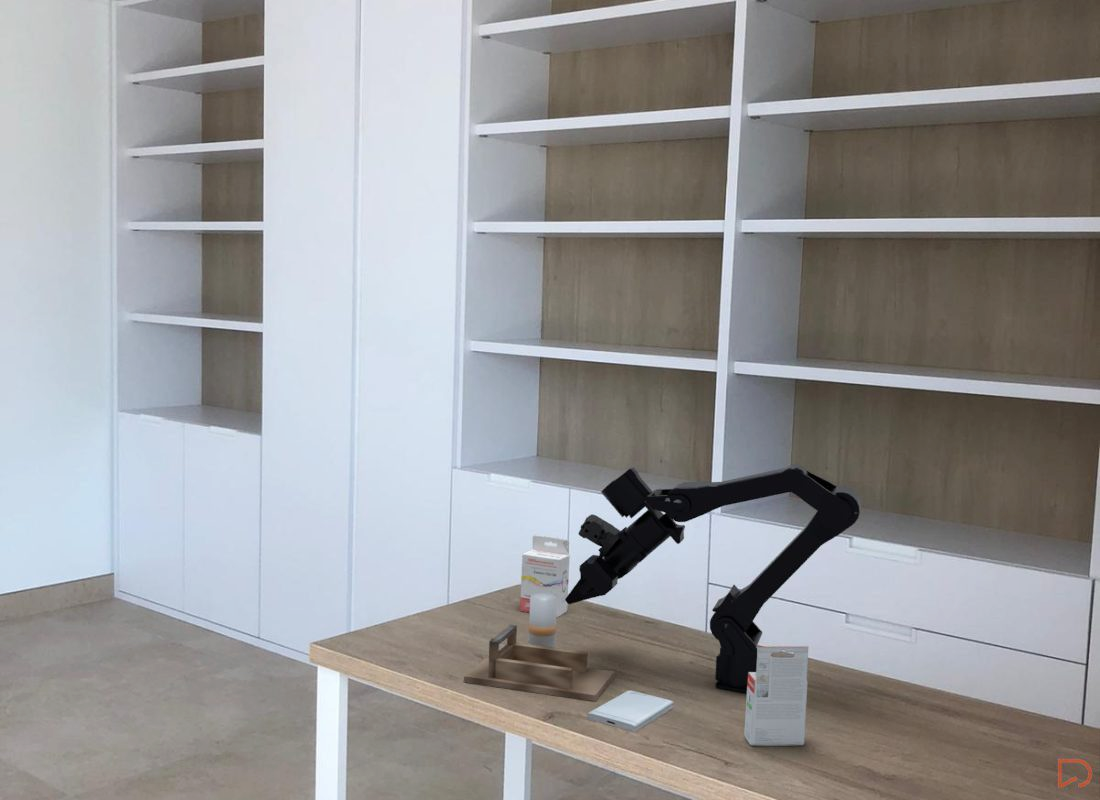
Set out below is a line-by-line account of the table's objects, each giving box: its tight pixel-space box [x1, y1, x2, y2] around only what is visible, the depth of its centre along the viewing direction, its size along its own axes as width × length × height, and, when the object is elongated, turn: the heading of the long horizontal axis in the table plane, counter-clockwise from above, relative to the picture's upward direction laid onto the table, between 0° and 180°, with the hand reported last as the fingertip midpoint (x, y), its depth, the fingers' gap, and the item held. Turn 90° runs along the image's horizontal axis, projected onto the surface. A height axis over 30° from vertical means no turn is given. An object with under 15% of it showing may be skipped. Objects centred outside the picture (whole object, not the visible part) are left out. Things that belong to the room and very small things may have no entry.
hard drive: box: [586, 690, 675, 733], centre depth 172 cm, size 2×8×12 cm
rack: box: [463, 624, 615, 702], centre depth 185 cm, size 22×12×7 cm, turn 72°
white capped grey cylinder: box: [528, 593, 557, 648], centre depth 196 cm, size 5×5×11 cm
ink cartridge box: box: [519, 534, 571, 618], centre depth 225 cm, size 9×5×15 cm, turn 66°
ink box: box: [743, 646, 809, 747], centre depth 163 cm, size 4×8×15 cm, turn 96°
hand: (574, 595), depth 194 cm, fingers open, 9 cm apart
